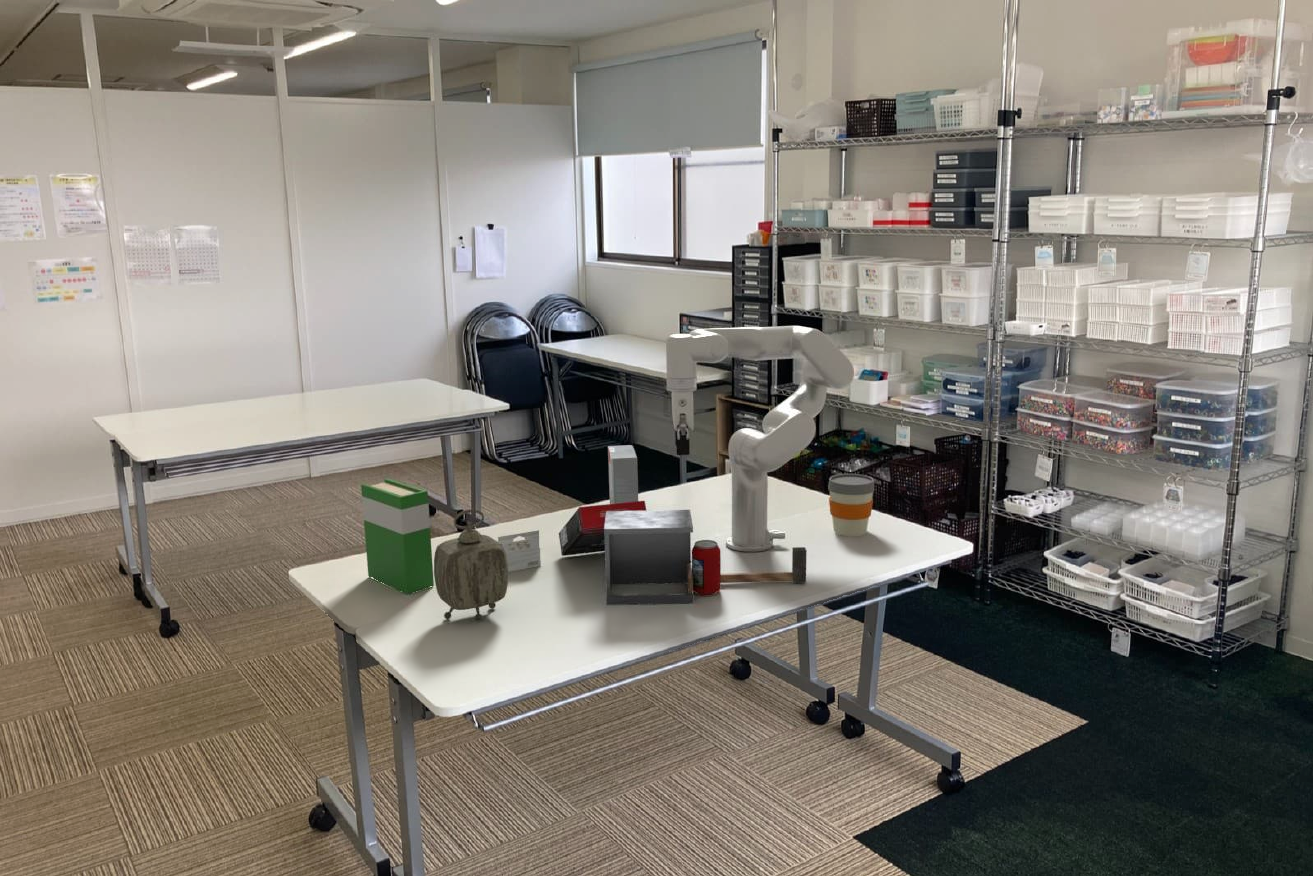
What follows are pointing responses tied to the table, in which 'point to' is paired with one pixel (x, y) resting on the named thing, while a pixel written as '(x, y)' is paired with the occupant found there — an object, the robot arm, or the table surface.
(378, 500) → the hardback book
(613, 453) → the hard drive box
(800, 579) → the pull rod
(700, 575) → the beverage can
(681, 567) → the shelf lane
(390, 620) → the table surface
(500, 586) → the tabletop clock
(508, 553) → the ink box
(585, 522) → the graphics card box
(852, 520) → the reusable coffee cup
